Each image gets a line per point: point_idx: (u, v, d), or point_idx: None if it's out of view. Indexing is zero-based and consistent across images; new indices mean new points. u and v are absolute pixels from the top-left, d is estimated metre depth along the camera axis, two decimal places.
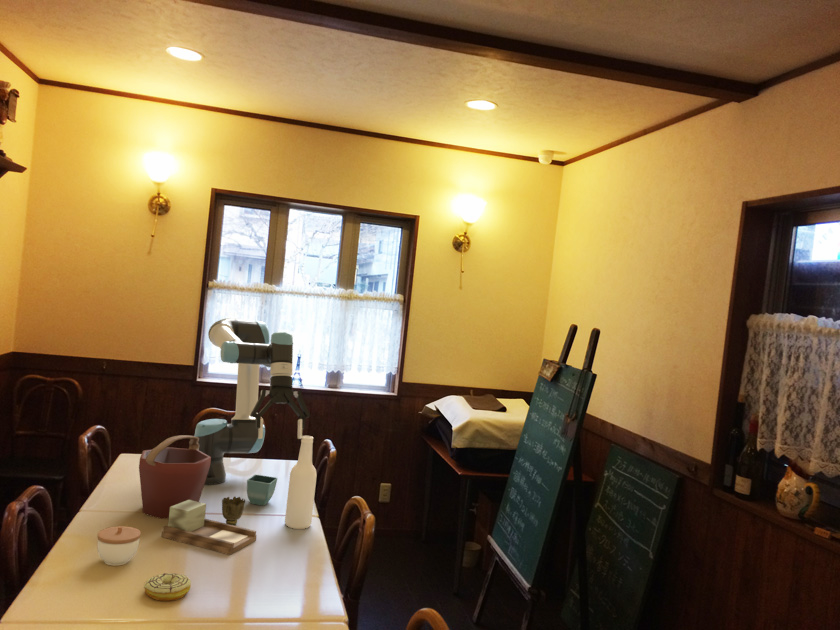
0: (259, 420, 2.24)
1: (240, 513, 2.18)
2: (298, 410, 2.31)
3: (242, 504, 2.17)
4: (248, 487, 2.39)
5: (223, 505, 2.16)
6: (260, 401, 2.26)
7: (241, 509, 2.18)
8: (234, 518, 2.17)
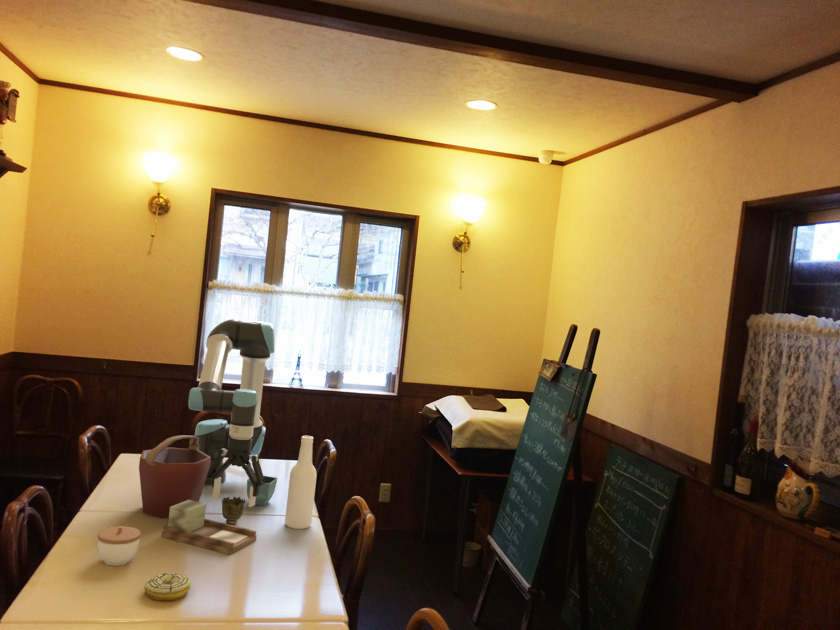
0: None
1: (240, 513, 2.18)
2: (250, 477, 2.16)
3: (242, 504, 2.17)
4: (248, 487, 2.39)
5: (223, 505, 2.16)
6: (216, 461, 2.20)
7: (241, 509, 2.18)
8: (234, 518, 2.17)
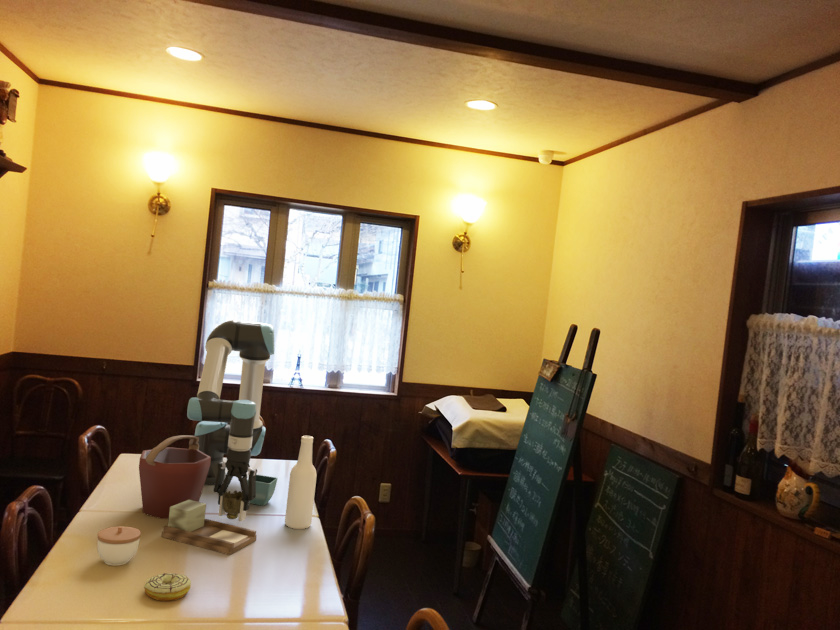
0: None
1: None
2: (243, 490, 2.17)
3: None
4: None
5: (224, 499, 2.17)
6: (218, 476, 2.20)
7: None
8: (235, 512, 2.17)
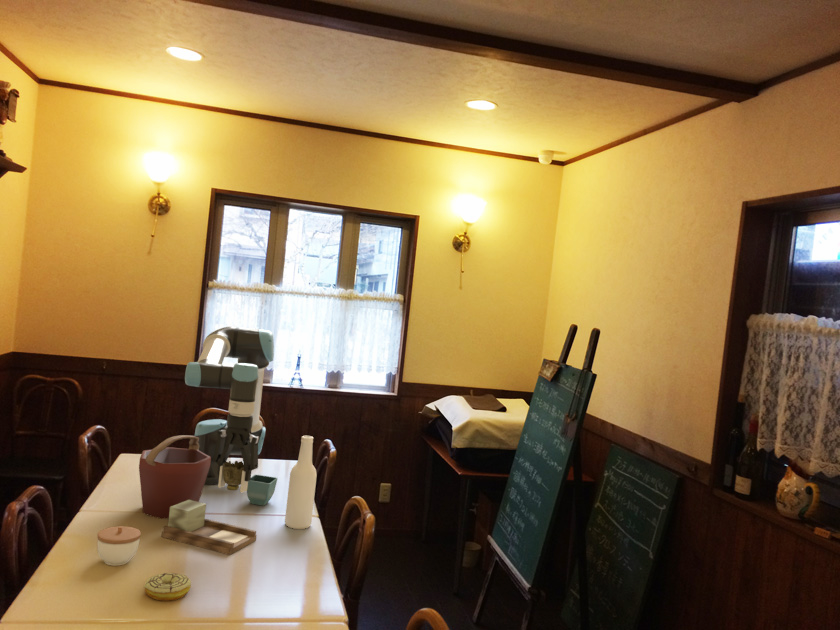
0: None
1: None
2: (244, 459, 2.02)
3: (244, 468, 2.03)
4: (248, 487, 2.39)
5: (224, 469, 2.02)
6: (217, 445, 2.05)
7: None
8: (236, 483, 2.02)
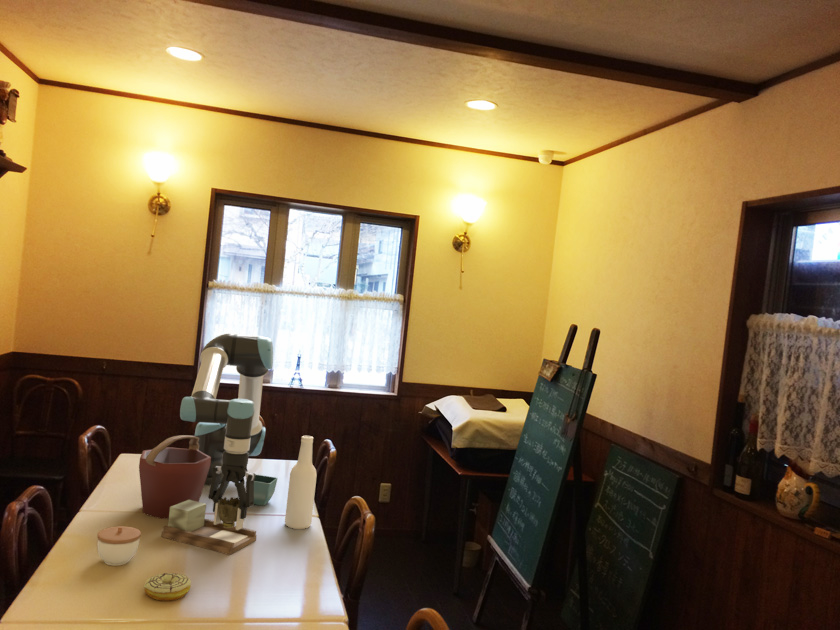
0: (215, 504, 2.03)
1: None
2: (240, 496, 2.00)
3: None
4: None
5: (219, 506, 2.00)
6: (213, 481, 2.03)
7: None
8: (231, 520, 2.00)
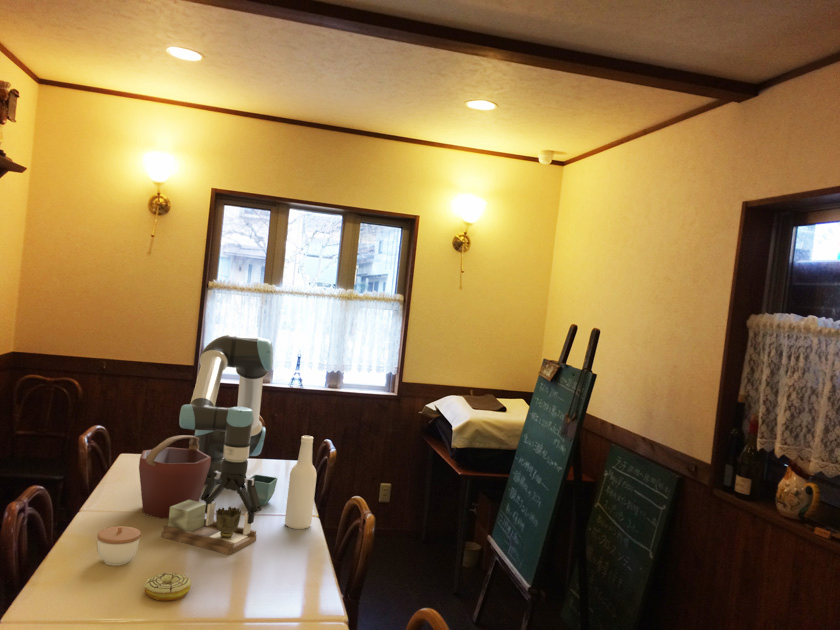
0: (208, 505, 2.04)
1: (236, 525, 2.02)
2: (245, 502, 2.00)
3: (238, 515, 2.02)
4: None
5: (217, 516, 2.01)
6: (209, 485, 2.04)
7: (237, 521, 2.02)
8: (229, 530, 2.01)
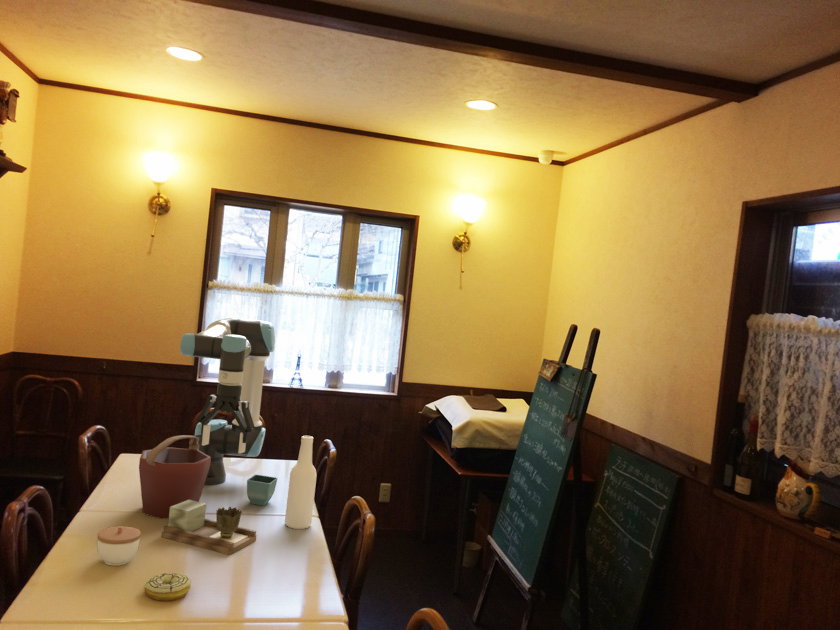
0: (203, 426, 2.17)
1: (236, 525, 2.02)
2: (240, 423, 2.12)
3: (238, 515, 2.02)
4: (248, 487, 2.39)
5: (217, 516, 2.01)
6: (205, 407, 2.16)
7: (237, 521, 2.02)
8: (229, 530, 2.01)
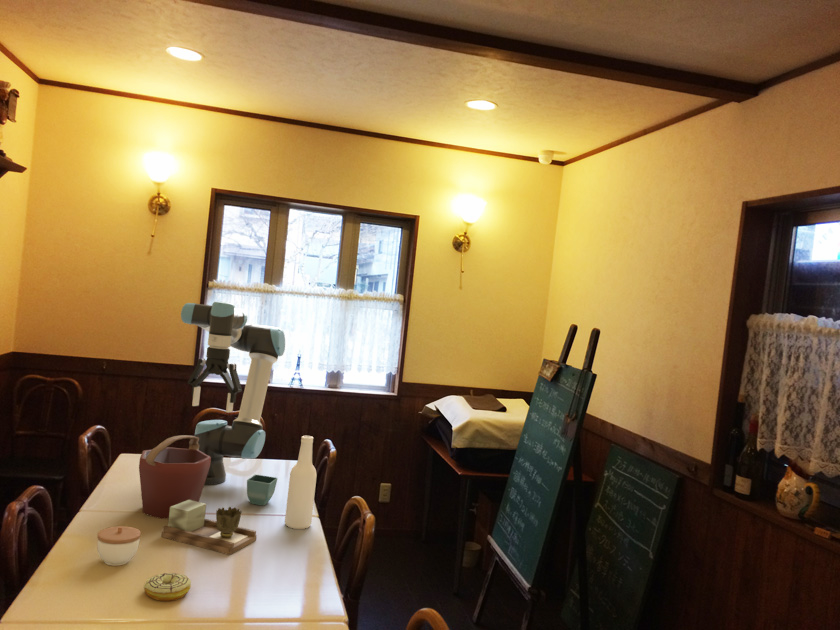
0: None
1: (236, 525, 2.02)
2: (227, 384, 2.26)
3: (238, 515, 2.02)
4: (248, 487, 2.39)
5: (217, 516, 2.01)
6: (195, 370, 2.30)
7: (237, 521, 2.02)
8: (229, 530, 2.01)
